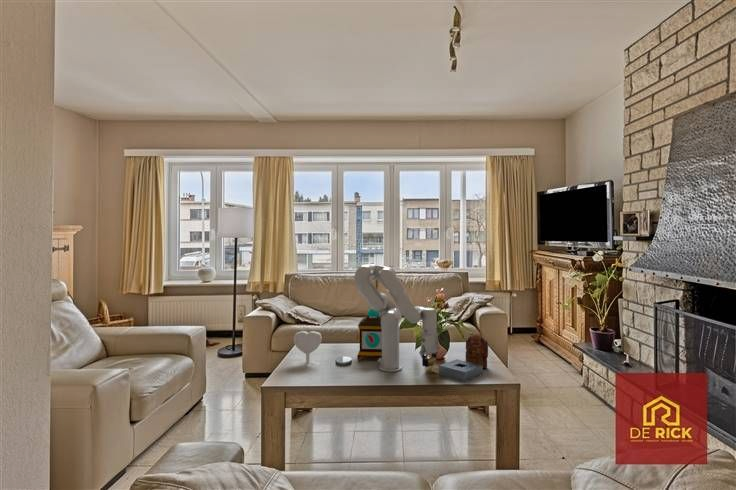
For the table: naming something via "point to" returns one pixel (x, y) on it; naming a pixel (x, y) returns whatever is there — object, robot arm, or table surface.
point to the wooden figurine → (477, 350)
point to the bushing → (430, 364)
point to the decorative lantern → (370, 335)
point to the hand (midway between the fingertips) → (429, 364)
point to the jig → (460, 370)
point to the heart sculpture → (307, 344)
